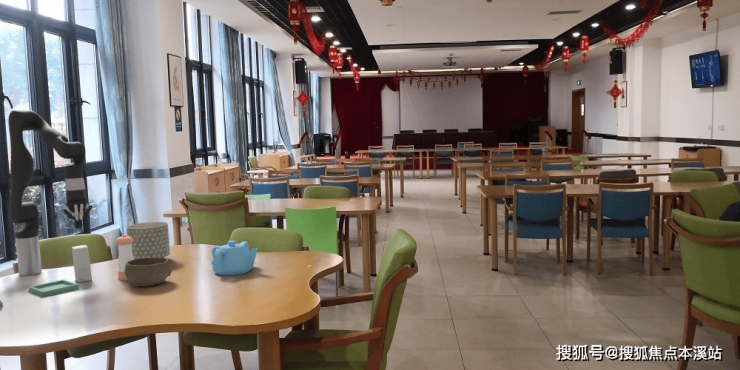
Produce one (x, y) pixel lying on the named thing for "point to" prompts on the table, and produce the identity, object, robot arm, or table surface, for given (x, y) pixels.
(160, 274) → the bowl
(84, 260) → the skincare box
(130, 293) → the table surface
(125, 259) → the salt shaker
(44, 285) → the tray
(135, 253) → the planter
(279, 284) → the table surface
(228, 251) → the teapot
